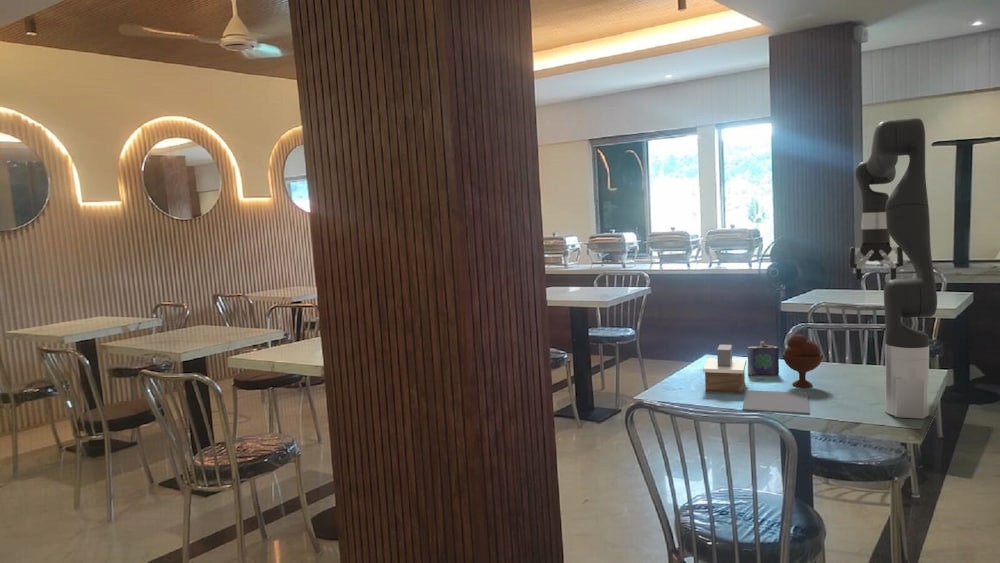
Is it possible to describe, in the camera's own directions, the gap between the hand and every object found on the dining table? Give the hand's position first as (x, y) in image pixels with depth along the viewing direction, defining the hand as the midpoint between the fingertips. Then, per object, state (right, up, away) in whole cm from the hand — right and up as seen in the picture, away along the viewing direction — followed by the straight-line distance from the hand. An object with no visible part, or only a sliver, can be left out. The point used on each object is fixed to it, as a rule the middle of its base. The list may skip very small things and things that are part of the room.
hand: (875, 280), depth 205 cm
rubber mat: (-40, -33, -23) cm, 56 cm away
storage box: (-47, -32, -5) cm, 57 cm away
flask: (-31, -30, +8) cm, 44 cm away
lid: (-47, -27, -5) cm, 55 cm away
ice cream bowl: (-26, -31, -7) cm, 41 cm away
